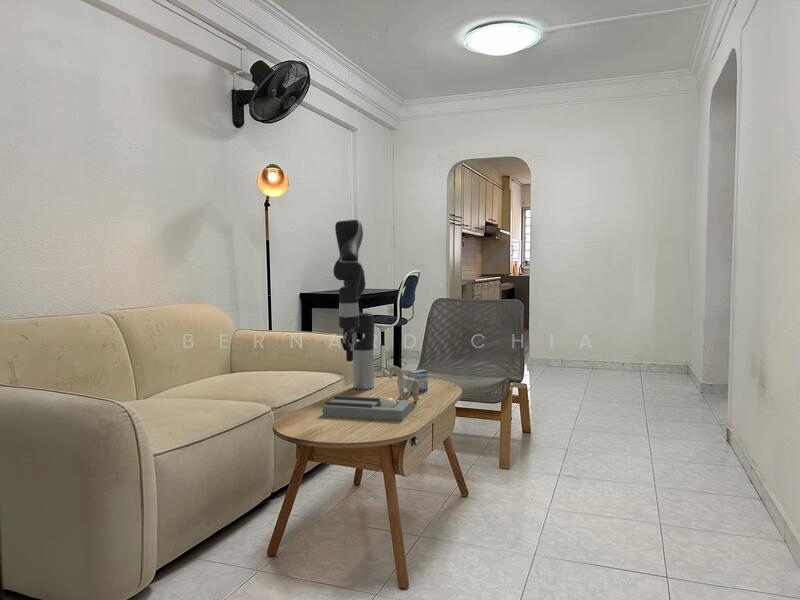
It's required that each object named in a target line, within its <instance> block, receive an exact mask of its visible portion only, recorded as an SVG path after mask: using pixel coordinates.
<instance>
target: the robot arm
mask: <svg viewBox="0 0 800 600" xmlns="http://www.w3.org/2000/svg"><path fill="white" fill-rule="evenodd" d="M334 227H335V228H334V230H335V237H336V243H337V246H338V251H339V258H338V259H337V260H336V261H335V263H334V267H333V270H332V271H333V276H334V277H335V278H336V280H339V281H343V286H342V287H340V288H339V290H338V304H339V305H338V327H339V328H340V329H342V331H343V332H342V338H340V343H341V346H342V348H343V351H345V352H346V355H345V356H346V359H345V360H346V362H352V385H353V386H352V387H354V388H353V389H355V388H357V389H356V390H371V389H373V388H375V369H374V368H375V367H374V366H375V364H374V363H375V362H374V356H375V355H374V354H375V353H374V343H375V342H374V339H375V317H374V315H373V313H371V312H360V307H359V300H360V298H361V297H362V294H363V293H364V291H365V288H366V276H365V270H364V268H363V265H362V263H361V262H359V251H360V248H361V245H362V241H363V236H364V232H363V231H364V229H363V224H362V222H361V221H360V220H359V219H349V220H340V221H336V223H335V225H334ZM359 334H360V335H364V337H363V338H362V339H360V340H358V337H359ZM370 388H371V389H370Z"/></svg>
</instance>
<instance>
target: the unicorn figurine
mask: <svg viewBox="0 0 800 600" xmlns="http://www.w3.org/2000/svg"><path fill="white" fill-rule="evenodd" d="M379 368H380V369H381V368H382V369H384V370H386V371H388V379H392V378H393V376H395V374H396V376H397V379H396V385H397V387H398V393H399V394H398V395H399V396H398V397H397V400H403V399H404V400H408V401H409V399H410V395H411V393H412V398H413V400H412V403H414V402H415V403H418V402H419V401H420V399H419V393H420V392H419V386H420V385H419V382H418V381H417V379H414V378H408V376H406V374H405V372H404V370H403V368H400V367H399V366H398V365H397V366H396V365H393V366H389V368H387V367H383V366H379ZM411 388H413V392H410V390H411ZM404 389H406V390H407V395H406V392H405V391H404Z"/></svg>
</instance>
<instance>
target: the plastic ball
mask: <svg viewBox="0 0 800 600" xmlns="http://www.w3.org/2000/svg"><path fill="white" fill-rule="evenodd" d="M382 399H383V398H382ZM395 400H396V399H394V398H392V397H385V398H384V399H383V400H382V402H381V404H380V407H389V408H394V407H395V406H396V405H397V404H396V402H395Z"/></svg>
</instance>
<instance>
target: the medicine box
mask: <svg viewBox="0 0 800 600" xmlns="http://www.w3.org/2000/svg"><path fill="white" fill-rule="evenodd" d="M428 374H429V372H428V370H426V369H417V370H412V371H407V377H408V378H414V379H417V381H418V382H419V385H420V386H419V391H421V392H424V391H423V390H426V391H428V390H429V375H428ZM427 389H428V390H427ZM410 391H411V393H413V388H411V390H410Z"/></svg>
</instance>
